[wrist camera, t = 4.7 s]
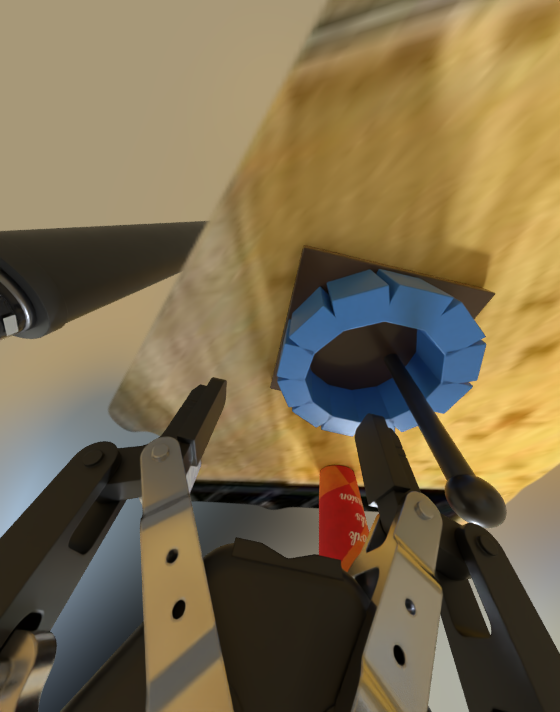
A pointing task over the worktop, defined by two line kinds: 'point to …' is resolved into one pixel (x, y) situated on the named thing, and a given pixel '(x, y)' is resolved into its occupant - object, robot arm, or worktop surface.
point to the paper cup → (341, 515)
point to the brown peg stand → (395, 371)
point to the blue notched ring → (366, 307)
